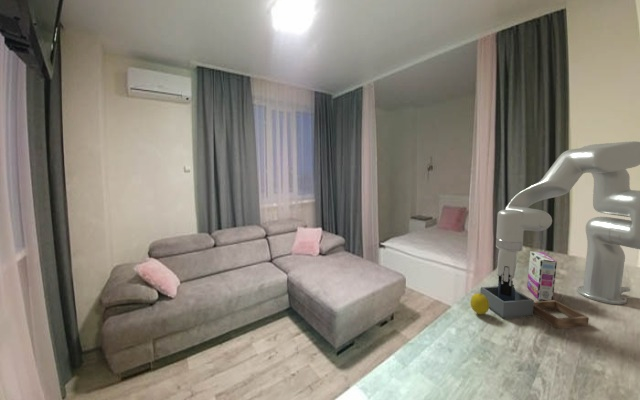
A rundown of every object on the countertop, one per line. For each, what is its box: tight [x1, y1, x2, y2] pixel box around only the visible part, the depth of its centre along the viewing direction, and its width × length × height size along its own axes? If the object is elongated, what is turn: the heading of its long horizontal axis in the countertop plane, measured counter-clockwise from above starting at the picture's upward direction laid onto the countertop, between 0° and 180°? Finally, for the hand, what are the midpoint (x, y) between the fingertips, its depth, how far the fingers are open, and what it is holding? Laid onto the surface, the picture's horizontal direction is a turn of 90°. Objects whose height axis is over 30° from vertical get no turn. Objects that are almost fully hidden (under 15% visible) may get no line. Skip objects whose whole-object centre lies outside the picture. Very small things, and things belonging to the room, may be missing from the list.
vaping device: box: [497, 274, 516, 301], centre depth 89 cm, size 3×5×12 cm, turn 29°
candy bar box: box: [526, 250, 558, 301], centre depth 97 cm, size 11×5×16 cm, turn 156°
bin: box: [479, 285, 535, 320], centre depth 89 cm, size 11×11×6 cm
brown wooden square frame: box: [533, 299, 590, 330], centre depth 83 cm, size 11×11×3 cm
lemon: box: [470, 293, 490, 316], centre depth 86 cm, size 6×6×8 cm
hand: (506, 291), depth 89 cm, fingers open, 3 cm apart
